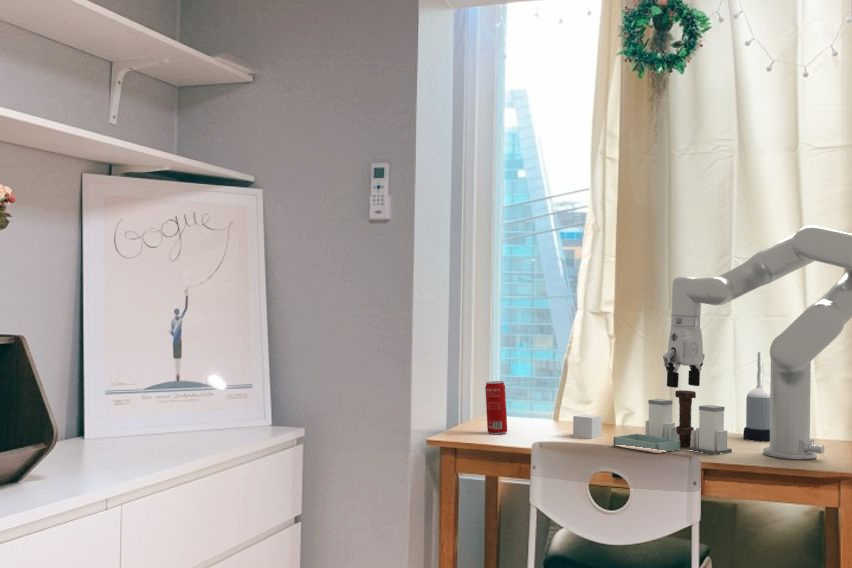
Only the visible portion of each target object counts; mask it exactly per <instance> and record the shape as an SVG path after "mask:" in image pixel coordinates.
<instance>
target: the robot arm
mask: <svg viewBox="0 0 852 568" xmlns="http://www.w3.org/2000/svg"><path fill="white" fill-rule="evenodd" d="M814 262H818V263H823V264H826V265H831V266H834V267H840V268H843V270H844V271H843V273H842V275H841V277H840V278H839V280H837V281H836V282H835V283H834V284H833V285H832V286H831V287H830V289H828V291H827V292H825V293H824V294H823V295H822V296H821V297H820V298H819V299H818V300H817V301H815V302H814V303H812V304H811V305H809V306H808V307H807V308H806V309H805V310H804V311H803V312H802V313H801V314H800V315H799V316H797V318H796V319H795V320H793V322H792V323H791V324H789V326H787V327H786V329H784V330H783V331H782V332H781V333H780V334H778V335H777V336H776V337H775V338H774V339H773V340H772V341H771V344H770V347H769V356H770V380H769V381H770V386H769V389H770V391H769V394H770V441H769V446H768V447H764V448H763V454H764V455H766V456H770V457H774V458H778V459H779V458H780V459H788V460H789V459H790V460H811V459H815V458H816V457H817V454H821V455H823V454H824V453H825V446H824V445H821V444H816V443H815V438H811V380H812V379H811V374H812V373H811V370H812V361H813V360H814V359H815V358H816V357H817V356H818V355H819V354H821V353H822V352H823V351H824V350H825V349H826V348H827V347H828V346H829V345H830V344H831V343H833V341H834V340H835V339H836V338H837V337H838V336H839V335H840V334H841V333H842V331H843V330H844V327H845V325H846V324H847V323H848V322H849V321H850V320H851V319H852V233H848V232H843V231H839V230H834V229H831V228H826V227H822V226H818V225H806V226H803V227H801V228H800V229H799V230H797V231H796V232H795V233H793V234H792V235H789V236H788V237H786V238H783V239H781V240H780V241H778V242H776V243H774V244H772V245H769V246H768V247H766V248H763V249H761V250H760V251H758V252H756V253H755V254H753V255H752V256H751V257H750V258H749V259H748V260H746V261H745V262H743V263H741V264H740V265H738V266H736V267H734V268H732V269H731V270H728V271H726V272H725V273H722V274H720V275H719V276H710V277H692V276H677V277H675V278H674V279H673V280H672V284H671V285H672V287H671V289H672V292H671V313H670V314H671V316H670V317H671V318H670V319H671V320H670V331H669V337H668V346H667V352H666V353H665V354H664V355H663V357H662V359H663V362H664V365H663V366H664V367H665V371H666V386H667V387H668V388H675V389H676V388H679V376H680V375H679V374H680V373H679V372H678V371H679V369H680V368H681V366H684V367H685V366H688V367H689V370H688V378H687V379H688V381H687V384H688V386H692V387H699V386H700V380H701V371H702V367H703V365H704V361H705V354H704V352H703V351H704V348H703V333H702V328H701V311H702V310H701V309H702V304H706V305H710V306H722V305H723V306H724V305H725V304H727V303H730V302H731V301H732V302H733V300H735V299H738V298H740V297H742V296H744V295H746V294H748V293H751V292H752V291H754V290H756V289H758V288H760V287H763V286H765V285H768V284H771V283H773V282H774V281H777V280H779V279H782V278H783V277H784V276H787V275H789V274H792V273H793V272H794V271H798V270H799V269H801V268H804V267H806V266H808V265H810V264H812V263H814Z"/></svg>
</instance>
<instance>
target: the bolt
mask: <svg viewBox="0 0 852 568" xmlns="http://www.w3.org/2000/svg"><path fill="white" fill-rule="evenodd" d="M674 395H675V398H678V403H679V404H678V405H679V407H678V408H679V410H678V411H679V412H678V414H679V417H678V425H676V426H677V427H676V432H677V434H679V441H680V448H681V447H691V431H692V430H695V429H694V426H692V404H693V399H696V398H697V393H696V391H693V390H682V389H681V390H679V389H678V390H675V393H674Z"/></svg>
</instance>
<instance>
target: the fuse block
mask: <svg viewBox="0 0 852 568" xmlns="http://www.w3.org/2000/svg"><path fill="white" fill-rule="evenodd" d="M647 400H648V403H647V404H648V420H645V434H644V435H648V436H655V437H661V438H667V439H673V440H679V434H677V432H676V427H677V426H678V425H676V423H675V422H672V421H673V418H672V417H673V413H672V412H673V411H672V410H673V400H672V399H663V398H661V399H660V398H653V399H647ZM698 411H699V413H698V414H699V416H698V418H699V420H698V421H699V423H698V426H699V427H696V428H695V429H694V430H692V431H691V446H690V447H688V448H687V449H686V451H687V450H693V451H698V452H703V453H702V454H704V453H708V454H707V455H710V454H714V455H713V456H716V455H715V454H718V455H721V454H720V453H724V454H728V453H727V452H729V453H732V452H733V449H732V448H728V430H725V429H724V428H725V425H724V424H725V406H723V405H722V406H721V405H712V404H704V405H698ZM693 451H692V452H693ZM698 452H697V453H698Z"/></svg>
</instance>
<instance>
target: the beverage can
mask: <svg viewBox="0 0 852 568" xmlns="http://www.w3.org/2000/svg"><path fill="white" fill-rule="evenodd" d="M484 388H485V407H486V427H487V433H488V434H489V433H490V435H502V434H503V435H504V434H506V433H508V419H507V417H508V416H507V413H508V412H507V399H506V398H507V397H506V385H505V382H504V381H502V380H500V381H499V380H495V381H494V380H493V381H492V380H491V381H487V382H486V384H485V387H484Z"/></svg>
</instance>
